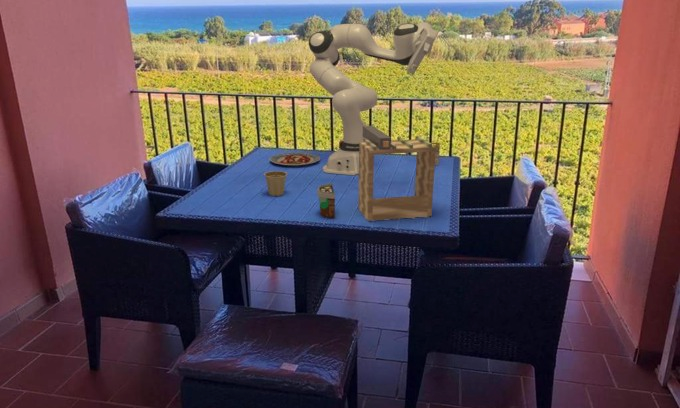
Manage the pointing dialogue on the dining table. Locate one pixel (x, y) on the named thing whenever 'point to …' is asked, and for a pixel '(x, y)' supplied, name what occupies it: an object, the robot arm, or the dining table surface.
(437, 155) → the crayon box
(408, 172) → the dining table surface
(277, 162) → the ceramic plate
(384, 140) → the grey brown bar
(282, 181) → the flower pot
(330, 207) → the food container
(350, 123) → the robot arm
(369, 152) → the pine shelf
